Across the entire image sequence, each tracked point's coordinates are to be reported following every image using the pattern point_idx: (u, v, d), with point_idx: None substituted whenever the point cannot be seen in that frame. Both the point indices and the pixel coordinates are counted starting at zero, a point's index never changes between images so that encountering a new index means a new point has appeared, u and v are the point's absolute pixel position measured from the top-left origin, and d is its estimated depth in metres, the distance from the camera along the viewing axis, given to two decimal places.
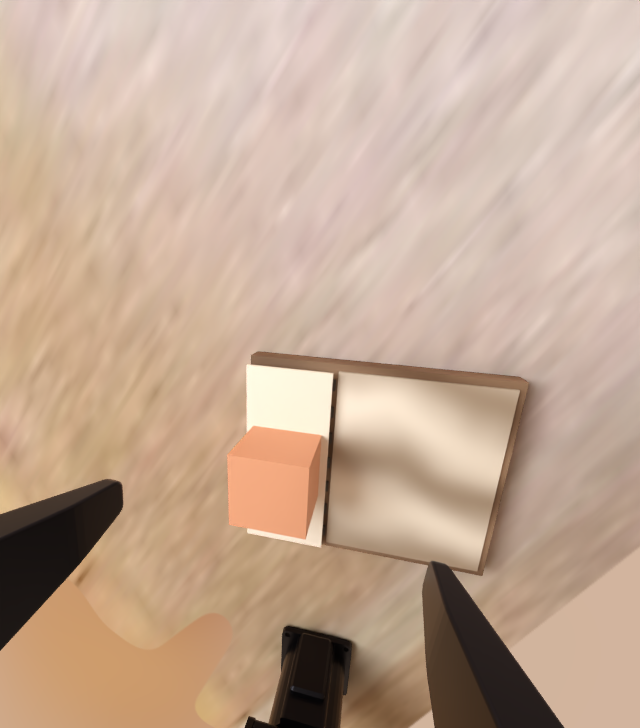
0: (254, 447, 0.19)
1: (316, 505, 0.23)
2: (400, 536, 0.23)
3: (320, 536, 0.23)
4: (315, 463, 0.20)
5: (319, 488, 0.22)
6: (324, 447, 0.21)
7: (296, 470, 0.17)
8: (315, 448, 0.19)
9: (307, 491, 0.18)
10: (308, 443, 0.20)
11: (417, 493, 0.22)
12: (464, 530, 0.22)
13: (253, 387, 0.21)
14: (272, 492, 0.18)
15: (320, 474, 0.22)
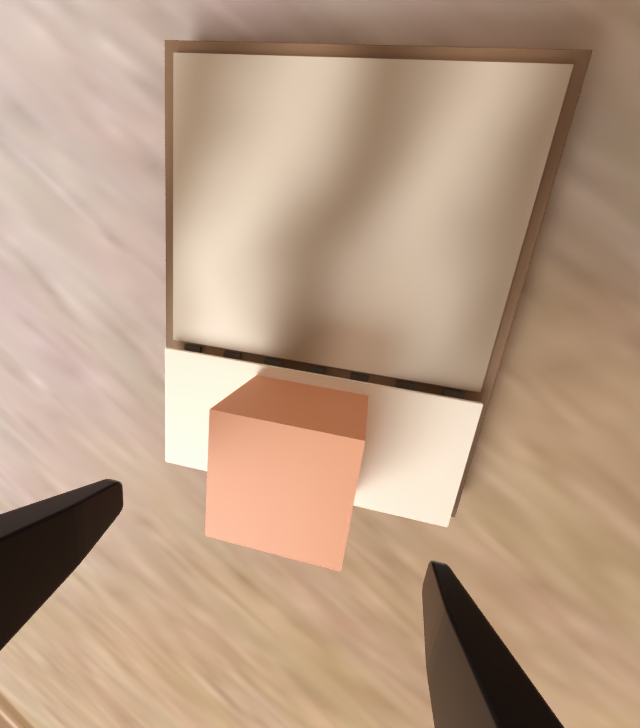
0: None
1: (386, 400, 0.13)
2: (468, 246, 0.11)
3: (456, 401, 0.12)
4: (264, 393, 0.12)
5: (352, 390, 0.13)
6: (276, 373, 0.13)
7: (217, 431, 0.10)
8: (238, 389, 0.12)
9: (257, 419, 0.10)
10: None
11: (368, 215, 0.12)
12: (453, 112, 0.11)
13: (194, 459, 0.15)
14: (265, 481, 0.10)
15: (325, 385, 0.13)
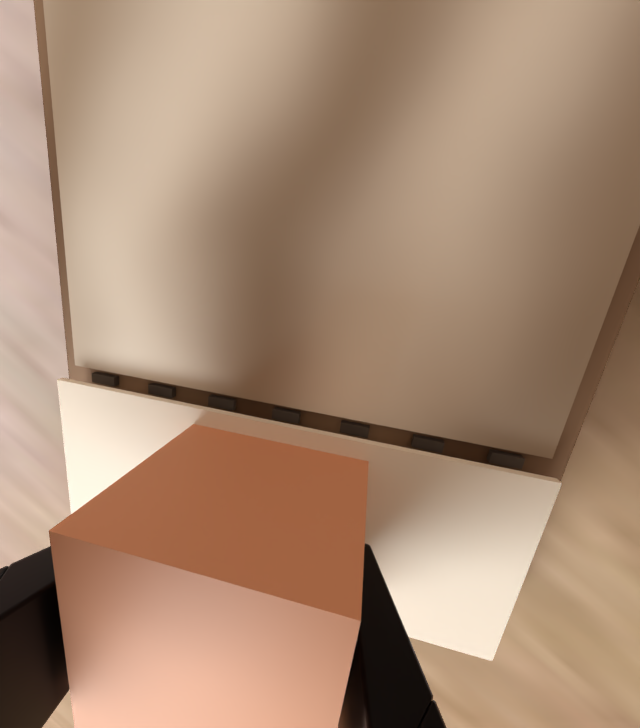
0: None
1: (398, 469, 0.08)
2: (545, 214, 0.07)
3: (515, 477, 0.07)
4: (188, 469, 0.07)
5: (342, 452, 0.08)
6: (224, 421, 0.08)
7: (68, 570, 0.05)
8: (147, 460, 0.07)
9: (140, 556, 0.05)
10: None
11: (369, 163, 0.07)
12: None
13: None
14: (167, 665, 0.05)
15: (299, 443, 0.08)
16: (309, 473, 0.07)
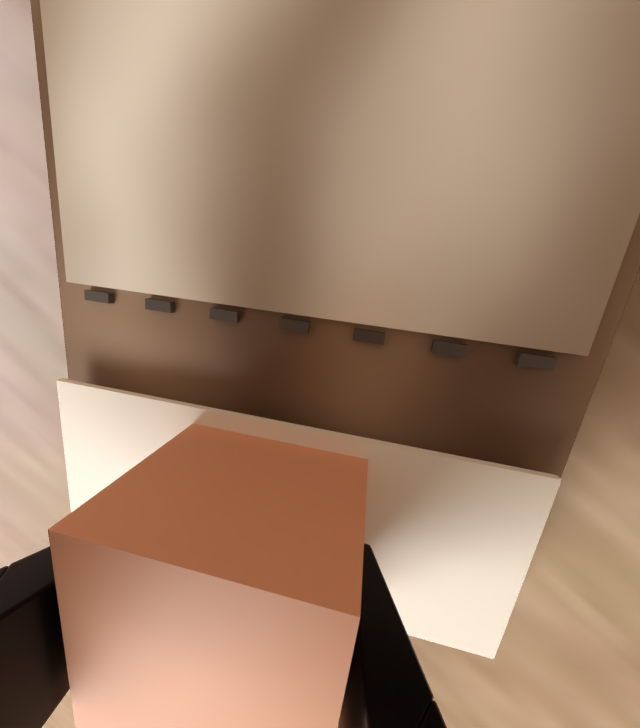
0: None
1: (398, 467, 0.08)
2: (584, 63, 0.06)
3: (514, 474, 0.07)
4: (187, 468, 0.07)
5: (341, 450, 0.08)
6: (223, 421, 0.08)
7: (68, 569, 0.05)
8: (147, 460, 0.07)
9: (139, 555, 0.05)
10: None
11: (386, 17, 0.06)
12: None
13: None
14: (167, 663, 0.05)
15: (299, 441, 0.08)
16: (309, 471, 0.07)
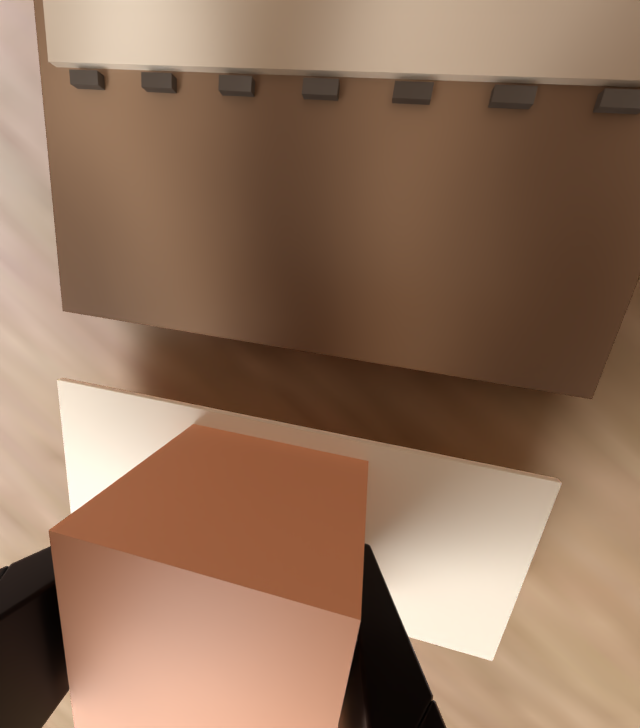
0: None
1: (398, 469, 0.08)
2: None
3: (514, 476, 0.07)
4: (188, 469, 0.07)
5: (342, 452, 0.08)
6: (224, 421, 0.08)
7: (69, 569, 0.05)
8: (147, 460, 0.07)
9: (140, 556, 0.05)
10: None
11: None
12: None
13: None
14: (166, 665, 0.05)
15: (299, 442, 0.08)
16: (309, 473, 0.07)
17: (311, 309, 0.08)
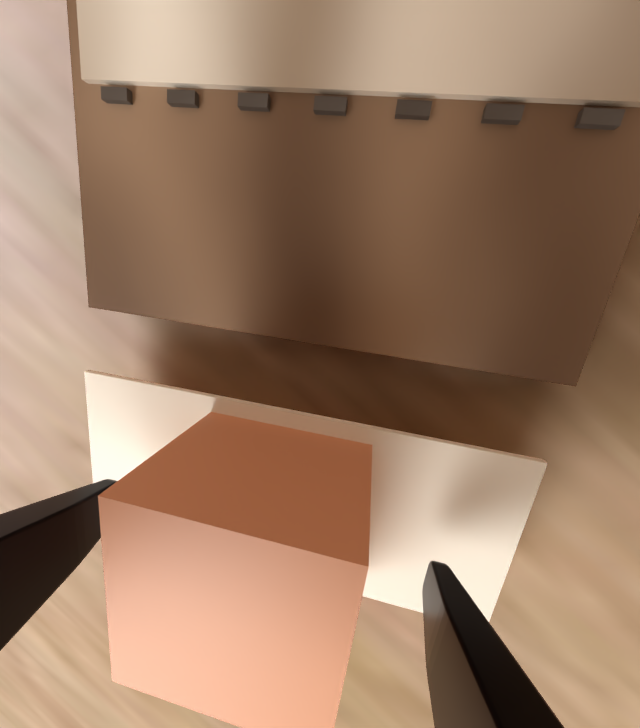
0: None
1: (399, 452, 0.09)
2: None
3: (505, 458, 0.08)
4: (211, 449, 0.07)
5: (348, 436, 0.09)
6: (239, 409, 0.09)
7: (114, 531, 0.06)
8: (173, 442, 0.08)
9: (178, 516, 0.05)
10: None
11: None
12: None
13: None
14: (198, 614, 0.06)
15: (309, 428, 0.09)
16: (319, 454, 0.08)
17: (320, 305, 0.09)
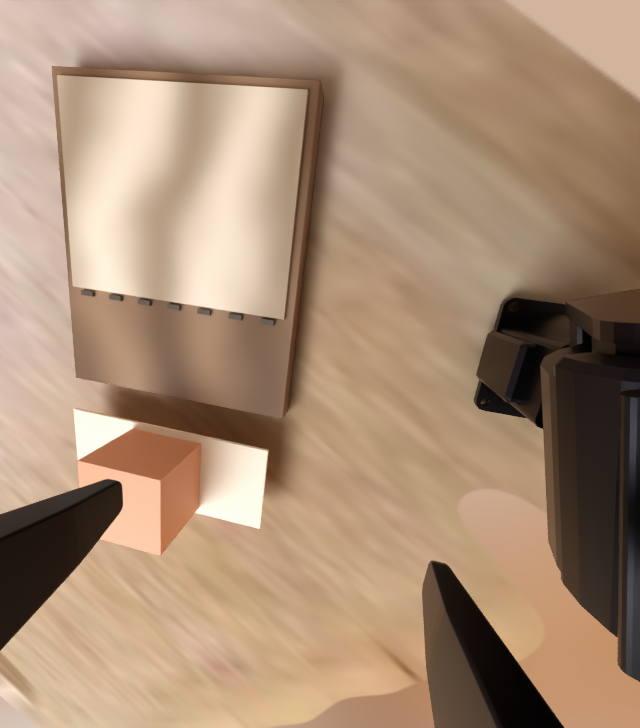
0: None
1: (212, 446, 0.20)
2: (262, 212, 0.16)
3: (252, 449, 0.19)
4: (124, 445, 0.19)
5: (191, 440, 0.20)
6: (144, 427, 0.20)
7: (83, 472, 0.17)
8: (110, 442, 0.19)
9: (104, 467, 0.17)
10: None
11: (196, 191, 0.17)
12: (240, 119, 0.15)
13: None
14: None
15: (174, 436, 0.20)
16: (172, 447, 0.19)
17: (179, 381, 0.20)
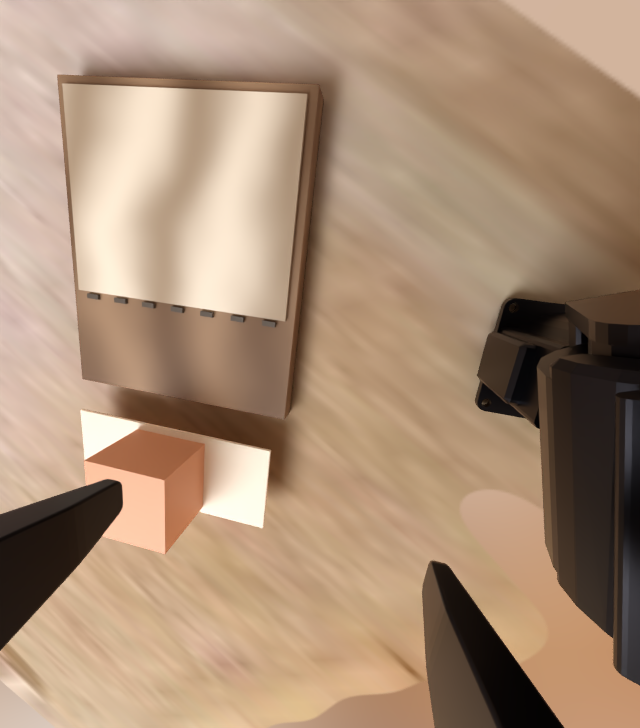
0: None
1: (215, 447, 0.20)
2: (263, 216, 0.17)
3: (254, 449, 0.20)
4: (130, 445, 0.19)
5: (195, 440, 0.20)
6: (149, 428, 0.21)
7: (89, 472, 0.17)
8: (115, 442, 0.19)
9: (109, 466, 0.17)
10: None
11: (198, 195, 0.17)
12: (241, 124, 0.16)
13: None
14: None
15: (178, 436, 0.20)
16: (176, 447, 0.19)
17: (182, 383, 0.20)
